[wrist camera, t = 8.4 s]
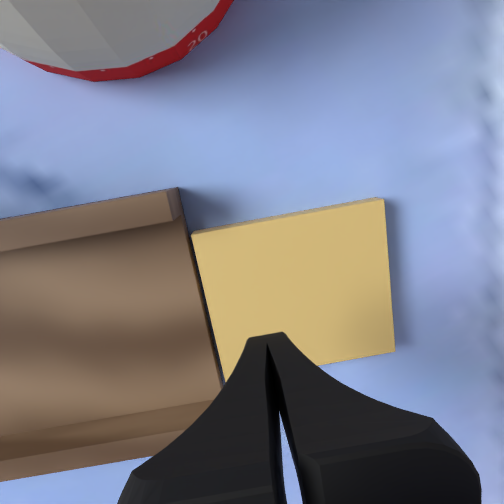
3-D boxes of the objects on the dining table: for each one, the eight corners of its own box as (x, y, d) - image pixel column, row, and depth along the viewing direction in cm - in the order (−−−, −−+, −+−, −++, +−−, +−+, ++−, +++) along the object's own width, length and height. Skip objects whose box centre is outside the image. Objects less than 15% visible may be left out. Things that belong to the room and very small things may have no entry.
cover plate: (383, 337, 19) (395, 351, 17) (226, 365, 19) (225, 382, 17) (371, 196, 16) (384, 199, 15) (195, 228, 17) (191, 235, 15)
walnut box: (227, 406, 19) (225, 443, 16) (-102, 462, 19) (-154, 508, 16) (177, 187, 15) (165, 191, 13) (-218, 258, 16) (-305, 275, 13)
